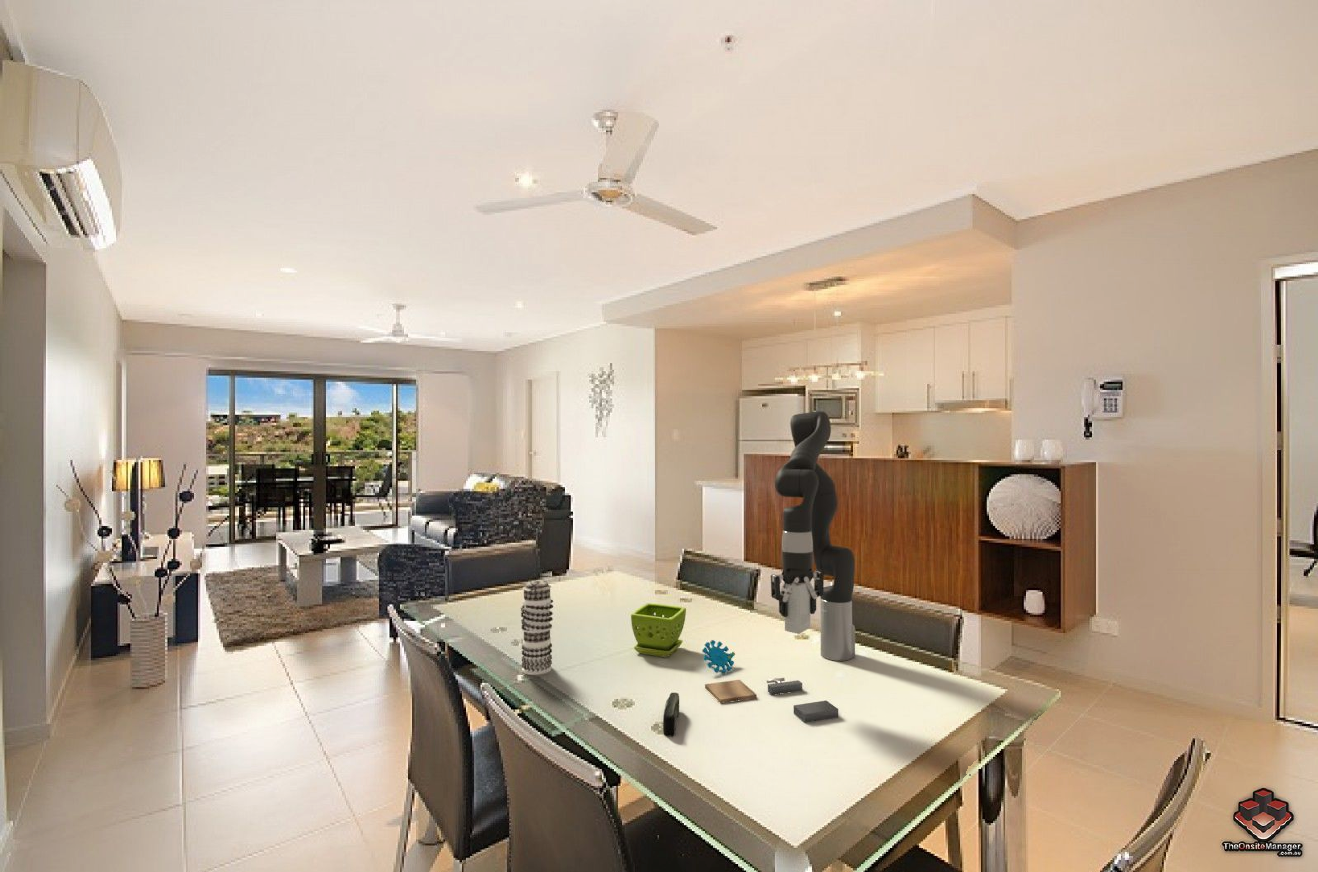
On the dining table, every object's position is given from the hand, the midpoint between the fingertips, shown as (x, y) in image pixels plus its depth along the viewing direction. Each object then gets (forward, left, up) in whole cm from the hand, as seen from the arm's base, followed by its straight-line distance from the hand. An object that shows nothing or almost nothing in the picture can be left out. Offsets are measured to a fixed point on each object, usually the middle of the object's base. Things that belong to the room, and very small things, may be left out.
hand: (797, 614), depth 149 cm
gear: (+10, -26, -22) cm, 35 cm away
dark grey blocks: (0, 0, -22) cm, 22 cm away
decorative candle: (+60, -42, -22) cm, 76 cm away
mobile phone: (+33, 0, -22) cm, 40 cm away
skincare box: (0, 0, -4) cm, 4 cm away
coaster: (+14, -10, -22) cm, 28 cm away
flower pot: (+22, -46, -22) cm, 55 cm away
